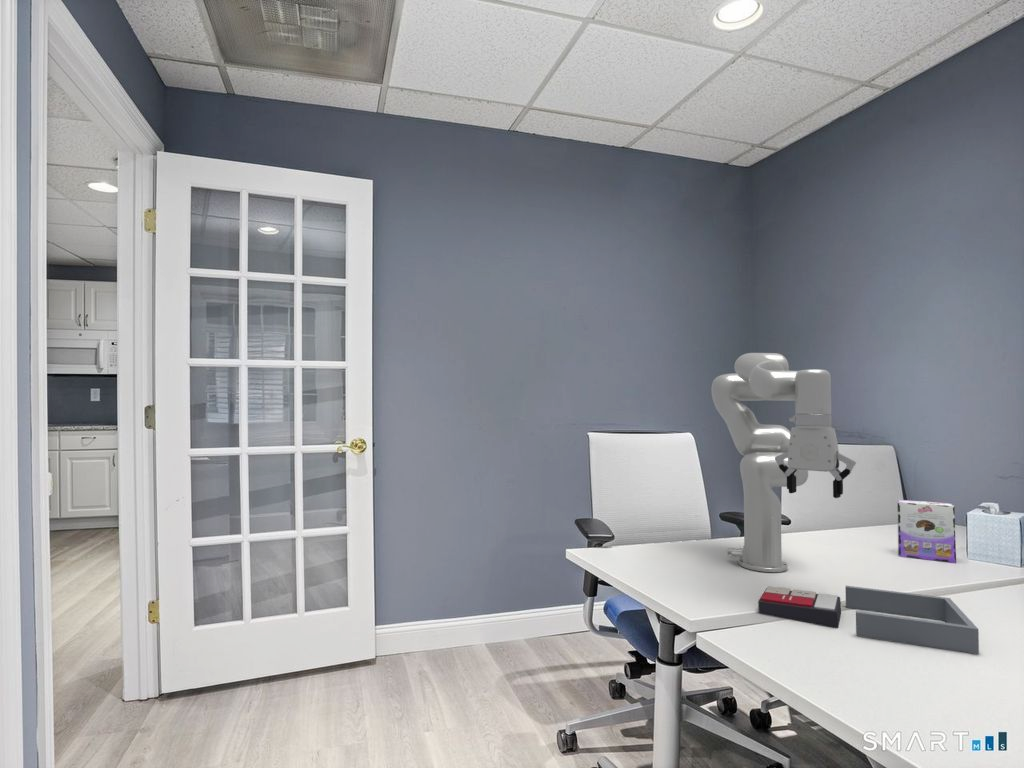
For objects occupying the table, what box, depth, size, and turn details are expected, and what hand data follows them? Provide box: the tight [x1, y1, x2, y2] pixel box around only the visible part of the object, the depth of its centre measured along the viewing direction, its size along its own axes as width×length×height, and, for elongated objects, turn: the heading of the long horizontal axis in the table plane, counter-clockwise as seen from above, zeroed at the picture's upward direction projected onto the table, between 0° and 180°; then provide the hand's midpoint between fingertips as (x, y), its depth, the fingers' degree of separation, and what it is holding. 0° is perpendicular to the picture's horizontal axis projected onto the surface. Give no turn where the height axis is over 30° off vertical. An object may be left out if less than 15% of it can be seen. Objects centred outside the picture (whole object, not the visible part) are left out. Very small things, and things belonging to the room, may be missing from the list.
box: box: [844, 585, 980, 655], centre depth 117 cm, size 19×18×4 cm
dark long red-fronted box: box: [757, 585, 842, 629], centre depth 125 cm, size 11×4×15 cm
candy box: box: [896, 499, 957, 564], centre depth 170 cm, size 14×6×16 cm, turn 58°
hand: (814, 495), depth 134 cm, fingers open, 9 cm apart
